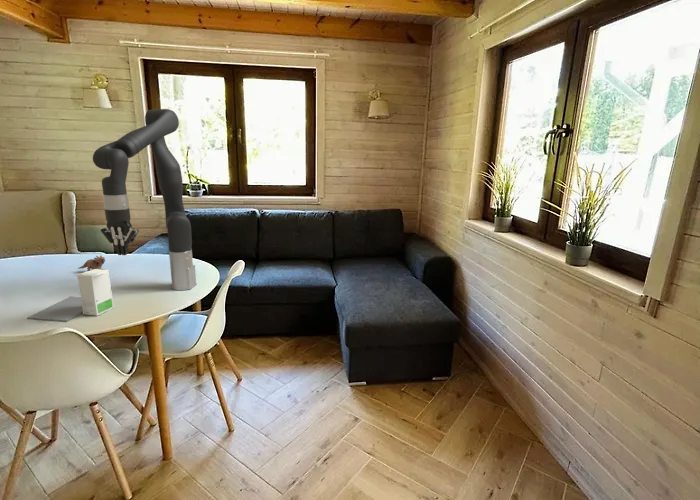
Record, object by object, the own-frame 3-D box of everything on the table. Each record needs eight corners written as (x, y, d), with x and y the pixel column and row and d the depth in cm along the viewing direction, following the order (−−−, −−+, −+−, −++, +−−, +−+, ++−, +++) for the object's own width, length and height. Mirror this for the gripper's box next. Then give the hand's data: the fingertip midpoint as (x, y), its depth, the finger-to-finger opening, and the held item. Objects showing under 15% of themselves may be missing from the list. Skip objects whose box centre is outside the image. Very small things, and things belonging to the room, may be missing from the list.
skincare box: (97, 316, 141) (90, 276, 137) (81, 314, 142) (75, 274, 138) (114, 307, 149) (109, 269, 145) (100, 305, 150) (94, 267, 146)
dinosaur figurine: (112, 271, 189) (110, 253, 186) (105, 275, 183) (102, 256, 181) (85, 270, 189) (82, 252, 186) (77, 274, 183) (74, 255, 181)
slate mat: (105, 299, 155) (105, 298, 155) (66, 321, 136) (66, 320, 136) (70, 297, 156) (70, 296, 156) (27, 318, 137) (26, 317, 137)
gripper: (141, 206, 137) (146, 253, 142) (105, 204, 138) (112, 251, 143) (128, 209, 130) (134, 258, 135) (90, 208, 131) (97, 256, 135)
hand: (122, 254), depth 139 cm, fingers closed
